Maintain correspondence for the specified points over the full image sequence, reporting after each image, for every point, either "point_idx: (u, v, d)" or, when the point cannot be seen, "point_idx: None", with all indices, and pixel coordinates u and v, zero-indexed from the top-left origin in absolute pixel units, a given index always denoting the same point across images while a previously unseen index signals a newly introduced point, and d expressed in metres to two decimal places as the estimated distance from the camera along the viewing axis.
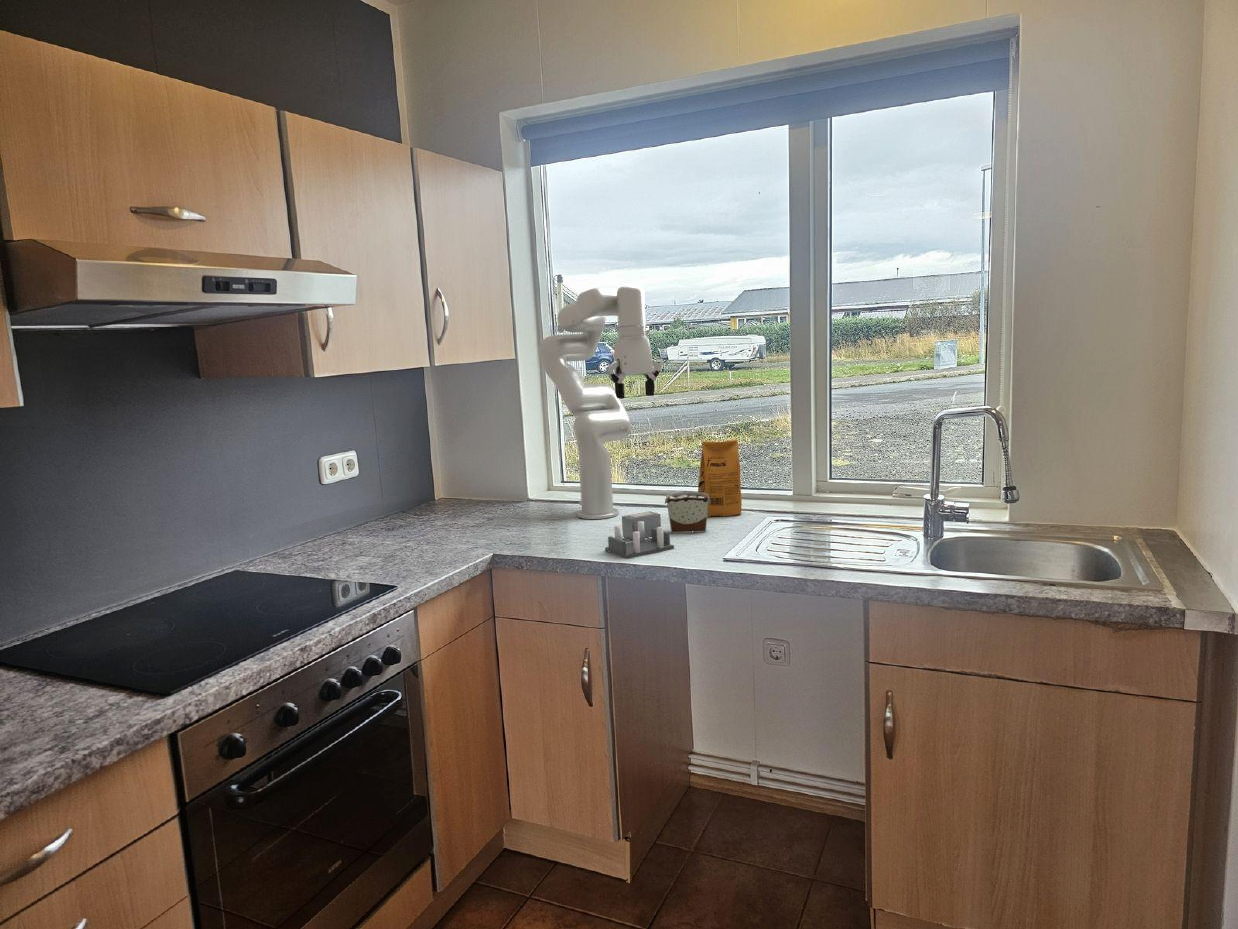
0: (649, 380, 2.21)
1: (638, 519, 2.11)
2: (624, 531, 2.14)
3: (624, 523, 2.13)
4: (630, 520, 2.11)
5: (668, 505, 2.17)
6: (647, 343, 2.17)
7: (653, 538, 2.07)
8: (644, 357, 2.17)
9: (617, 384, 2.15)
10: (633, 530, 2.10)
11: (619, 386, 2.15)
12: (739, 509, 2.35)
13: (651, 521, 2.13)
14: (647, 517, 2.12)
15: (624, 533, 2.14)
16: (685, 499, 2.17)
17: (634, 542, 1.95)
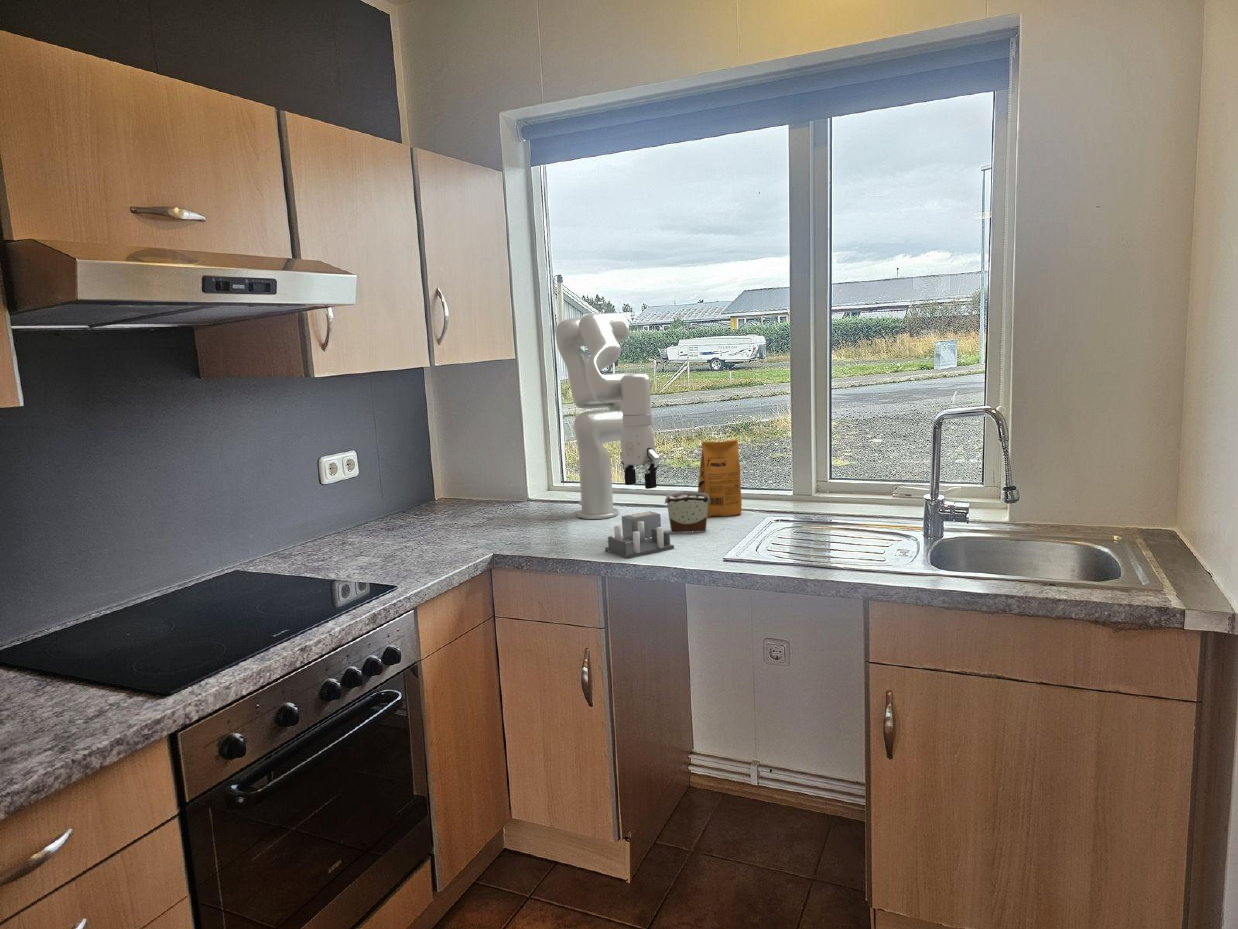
0: (631, 469, 2.16)
1: (638, 519, 2.11)
2: (624, 531, 2.14)
3: (624, 523, 2.13)
4: (630, 520, 2.11)
5: (668, 505, 2.17)
6: None
7: (653, 538, 2.07)
8: None
9: (653, 473, 2.07)
10: (633, 530, 2.11)
11: None
12: (739, 509, 2.35)
13: (651, 521, 2.13)
14: (647, 517, 2.12)
15: (624, 533, 2.14)
16: (685, 499, 2.17)
17: (634, 542, 1.95)
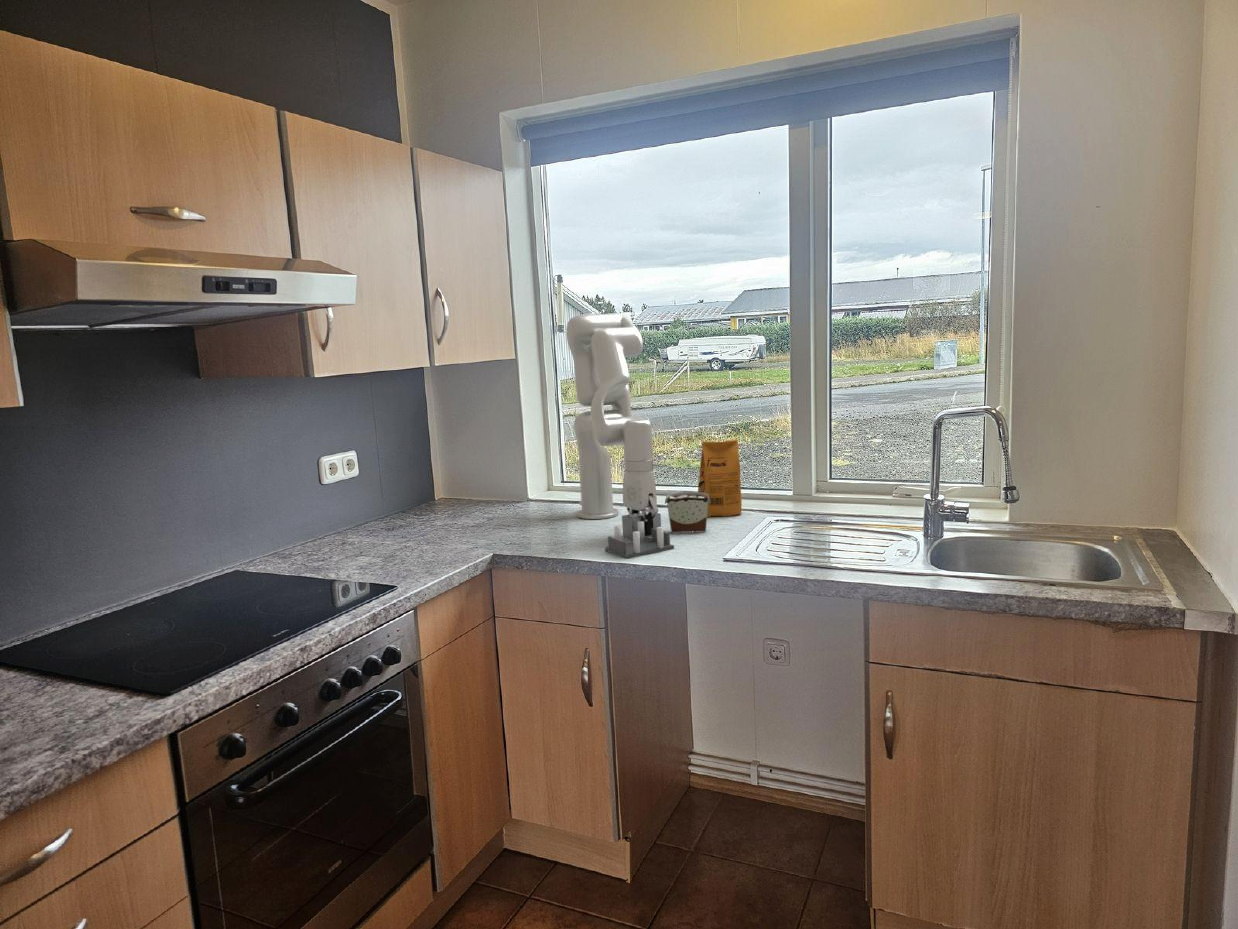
0: None
1: (638, 519, 2.11)
2: (624, 531, 2.14)
3: (624, 523, 2.13)
4: (630, 520, 2.11)
5: (668, 505, 2.17)
6: None
7: (653, 538, 2.07)
8: None
9: (650, 521, 2.11)
10: (633, 530, 2.10)
11: None
12: (739, 509, 2.35)
13: None
14: None
15: (624, 533, 2.14)
16: (685, 499, 2.17)
17: (634, 542, 1.95)
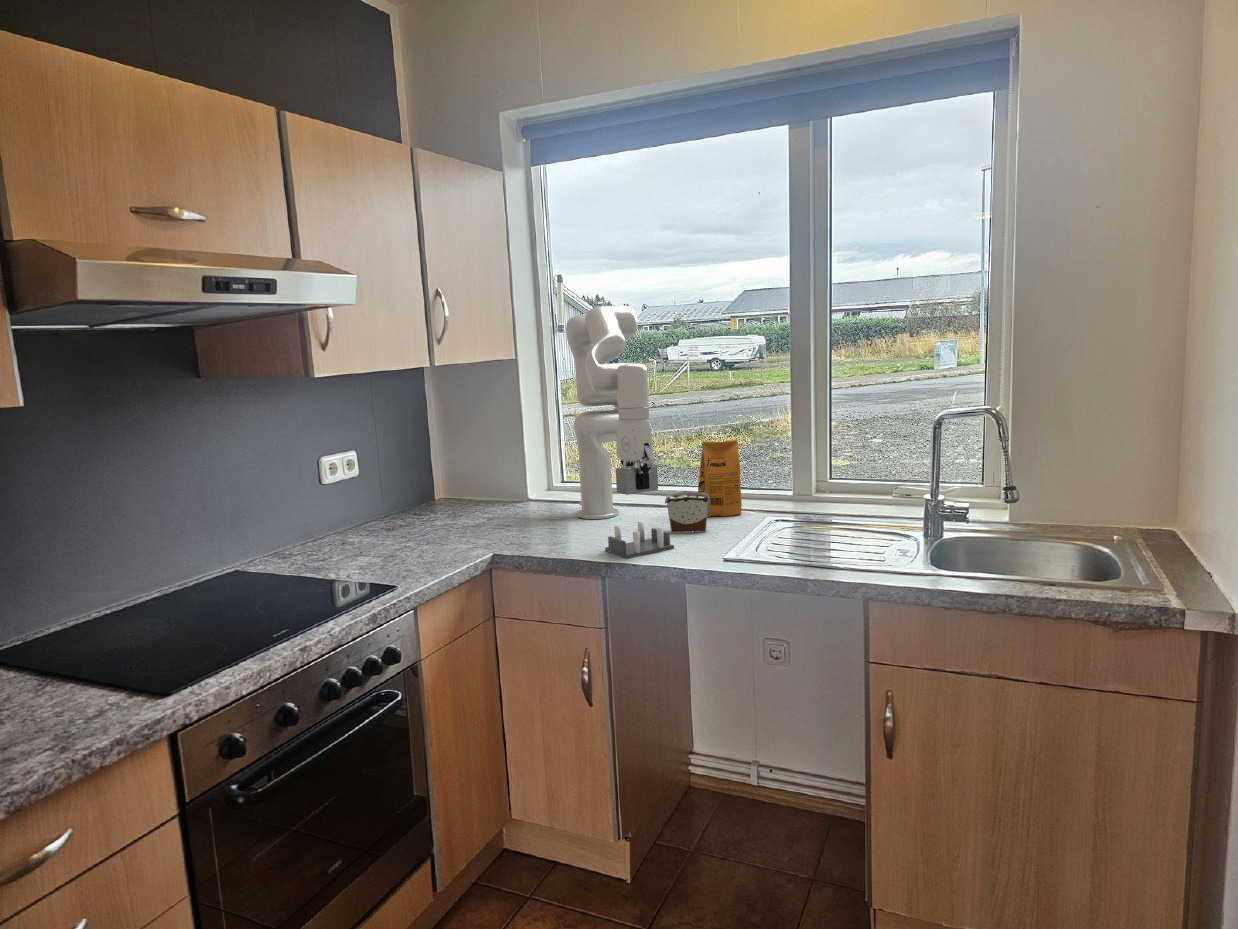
0: None
1: (633, 471, 1.96)
2: (618, 484, 1.99)
3: (618, 475, 1.98)
4: (624, 471, 1.96)
5: (668, 505, 2.17)
6: None
7: (653, 538, 2.07)
8: None
9: (646, 474, 1.97)
10: (627, 482, 1.96)
11: None
12: (739, 509, 2.35)
13: None
14: None
15: (618, 486, 1.99)
16: (685, 499, 2.17)
17: (634, 542, 1.95)
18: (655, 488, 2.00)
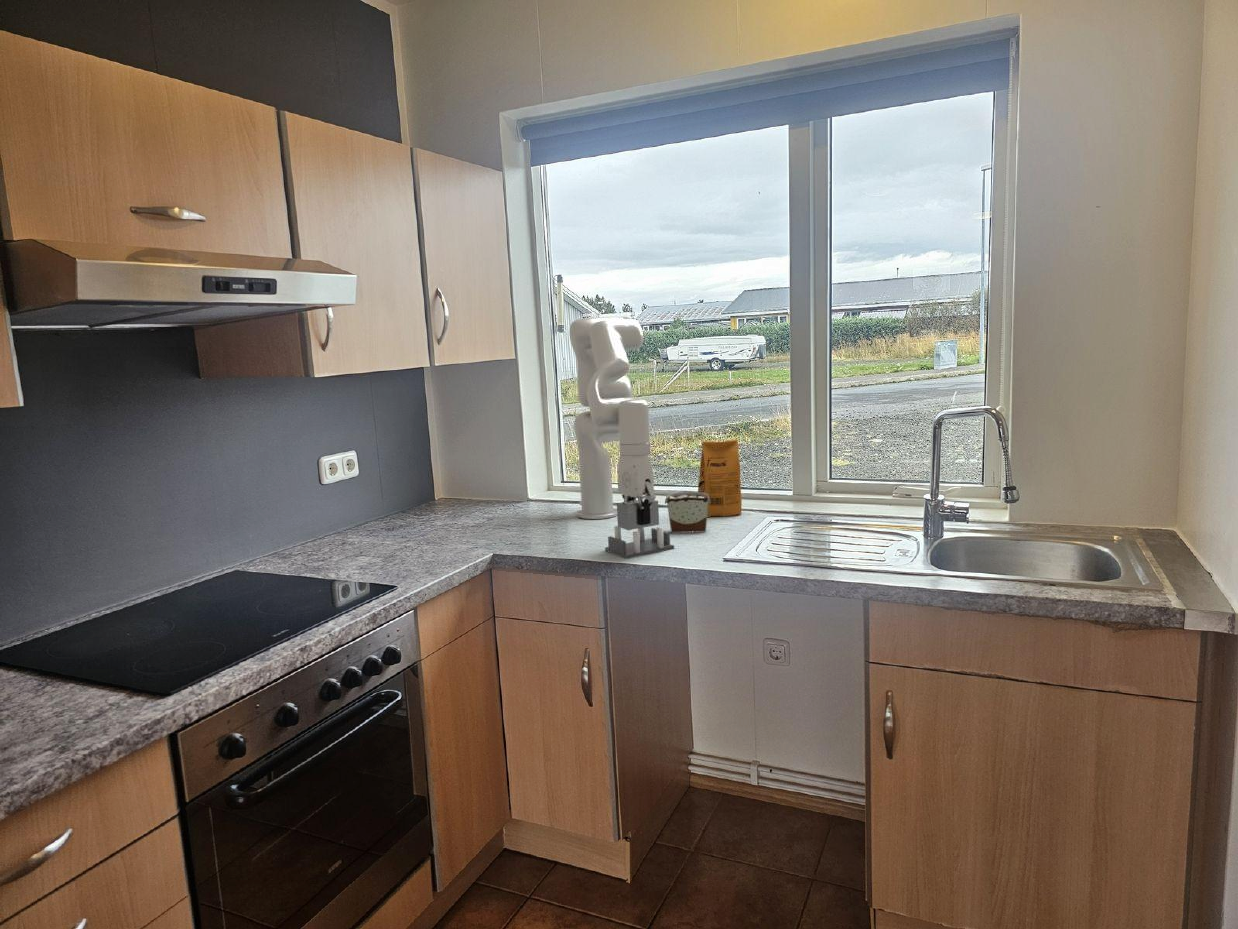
0: None
1: (634, 506, 1.97)
2: (619, 519, 2.00)
3: (619, 510, 1.99)
4: (625, 507, 1.96)
5: (668, 505, 2.17)
6: None
7: (653, 538, 2.07)
8: None
9: (647, 509, 1.97)
10: (628, 518, 1.96)
11: None
12: (739, 509, 2.35)
13: None
14: None
15: (619, 521, 2.00)
16: (685, 499, 2.17)
17: (634, 542, 1.95)
18: (656, 523, 2.01)
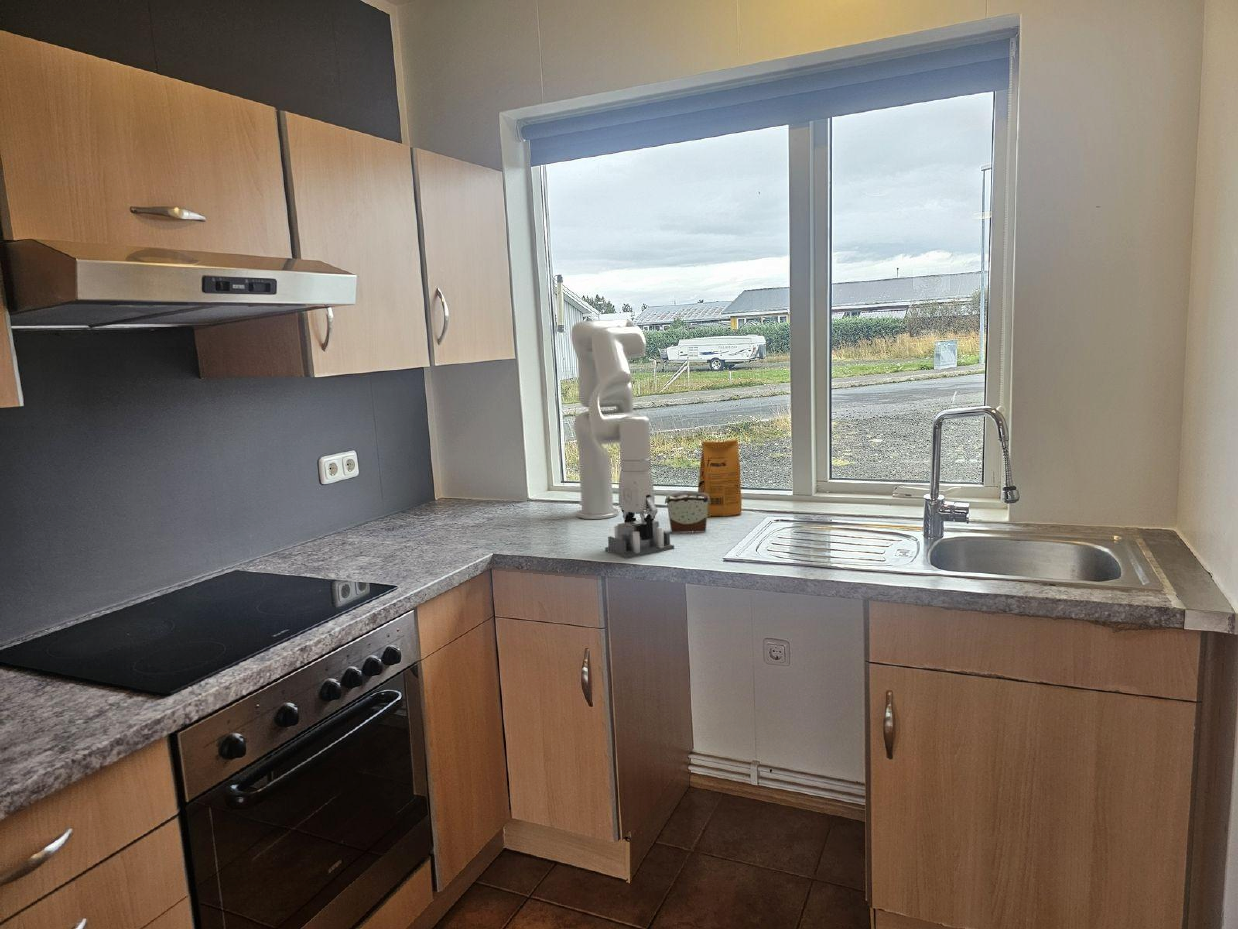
0: (631, 517, 2.04)
1: (635, 527, 1.98)
2: None
3: (620, 531, 2.00)
4: (627, 528, 1.97)
5: (668, 505, 2.17)
6: None
7: None
8: None
9: (650, 524, 1.97)
10: (630, 539, 1.97)
11: None
12: (739, 509, 2.35)
13: None
14: None
15: None
16: (685, 499, 2.17)
17: (634, 542, 1.95)
18: None
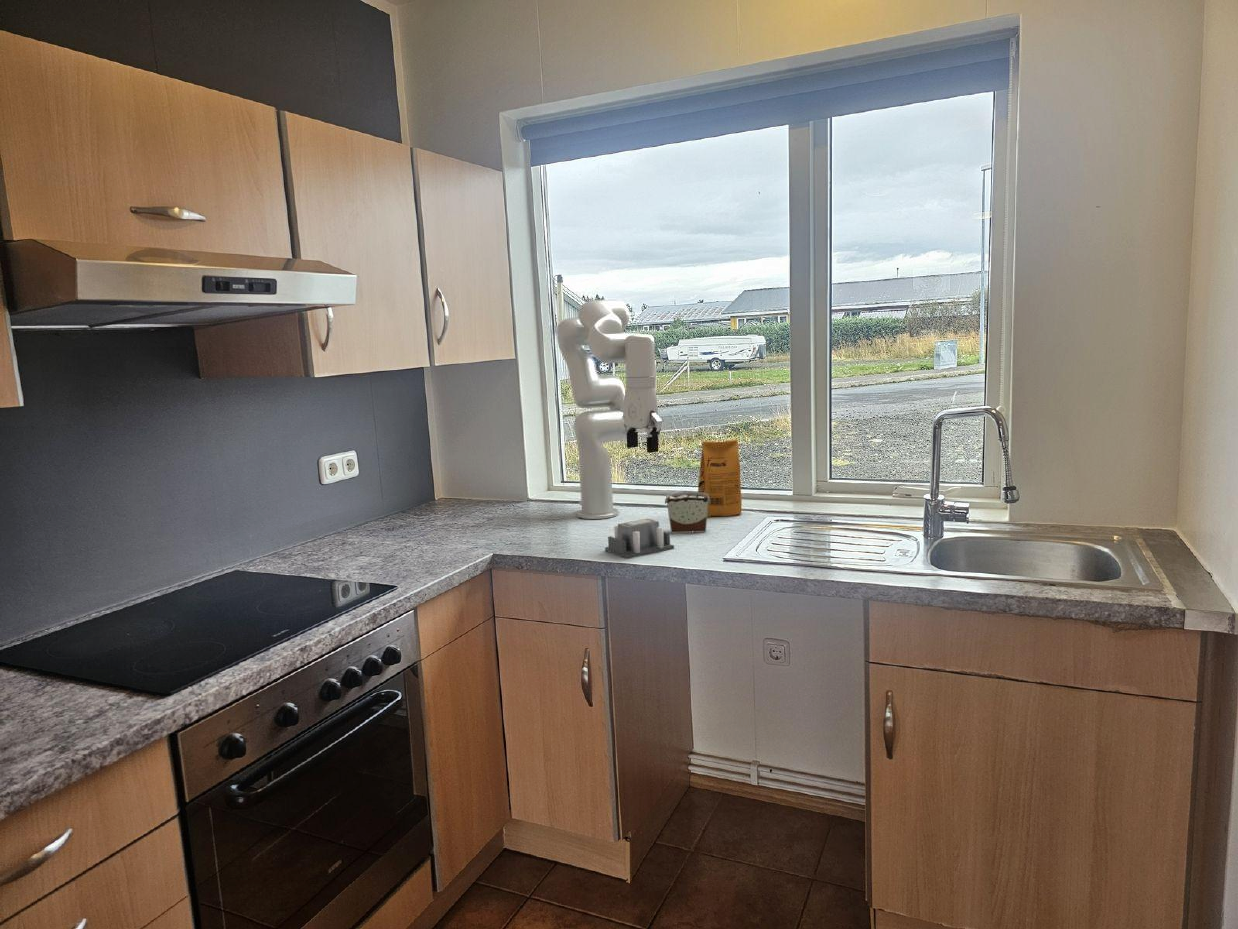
0: (633, 431, 2.12)
1: (635, 527, 1.98)
2: None
3: (620, 531, 2.00)
4: (627, 528, 1.97)
5: (668, 505, 2.17)
6: None
7: None
8: None
9: (655, 437, 2.03)
10: (630, 539, 1.97)
11: None
12: (739, 509, 2.35)
13: (649, 530, 2.00)
14: (645, 525, 1.99)
15: None
16: (685, 499, 2.17)
17: (634, 542, 1.95)
18: None
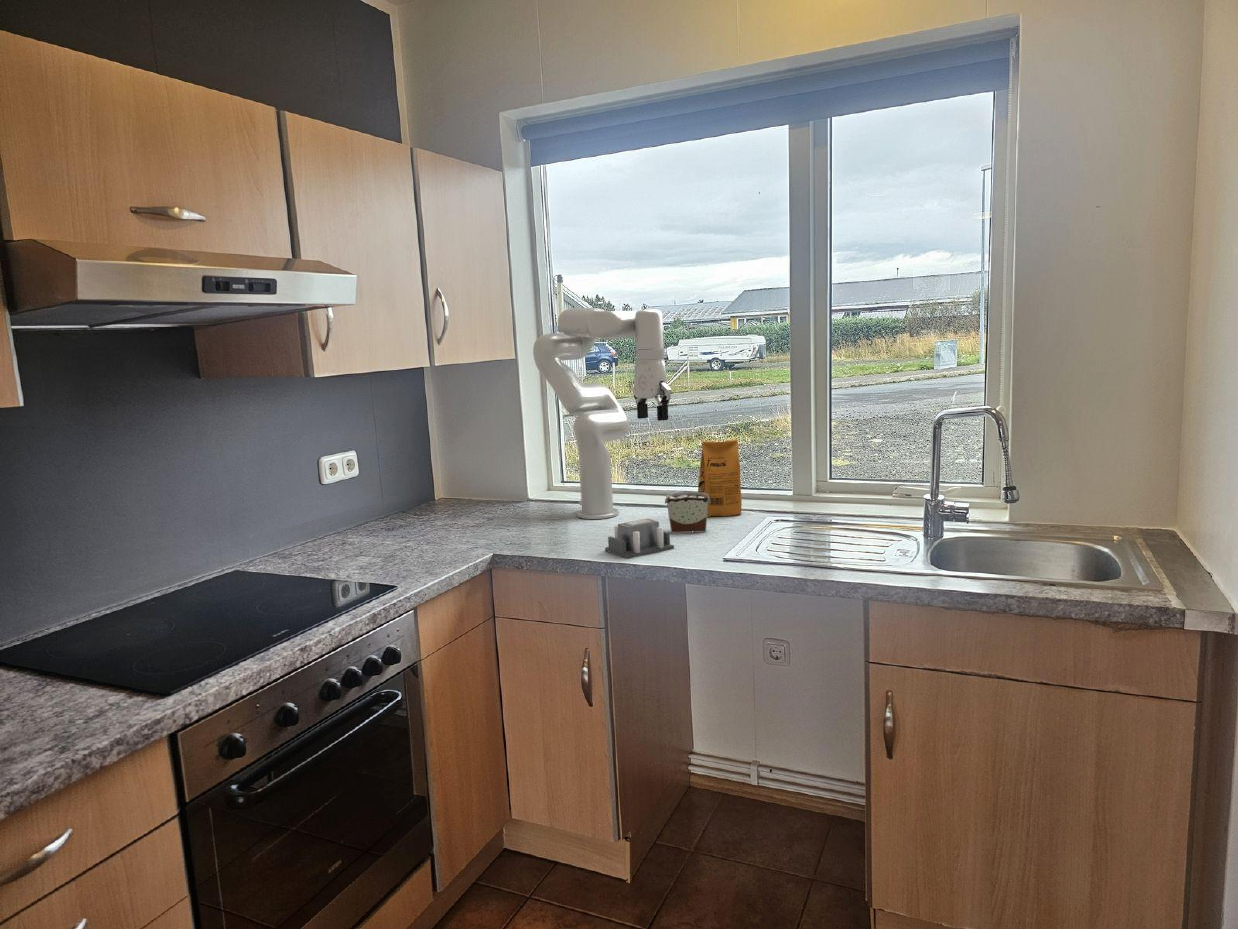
0: (643, 403, 2.24)
1: (635, 527, 1.98)
2: None
3: (620, 531, 2.00)
4: (627, 528, 1.97)
5: (668, 505, 2.17)
6: None
7: None
8: None
9: (665, 406, 2.15)
10: (630, 539, 1.97)
11: None
12: (739, 509, 2.35)
13: (649, 530, 2.00)
14: (645, 525, 1.99)
15: None
16: (685, 499, 2.16)
17: (634, 542, 1.95)
18: None
